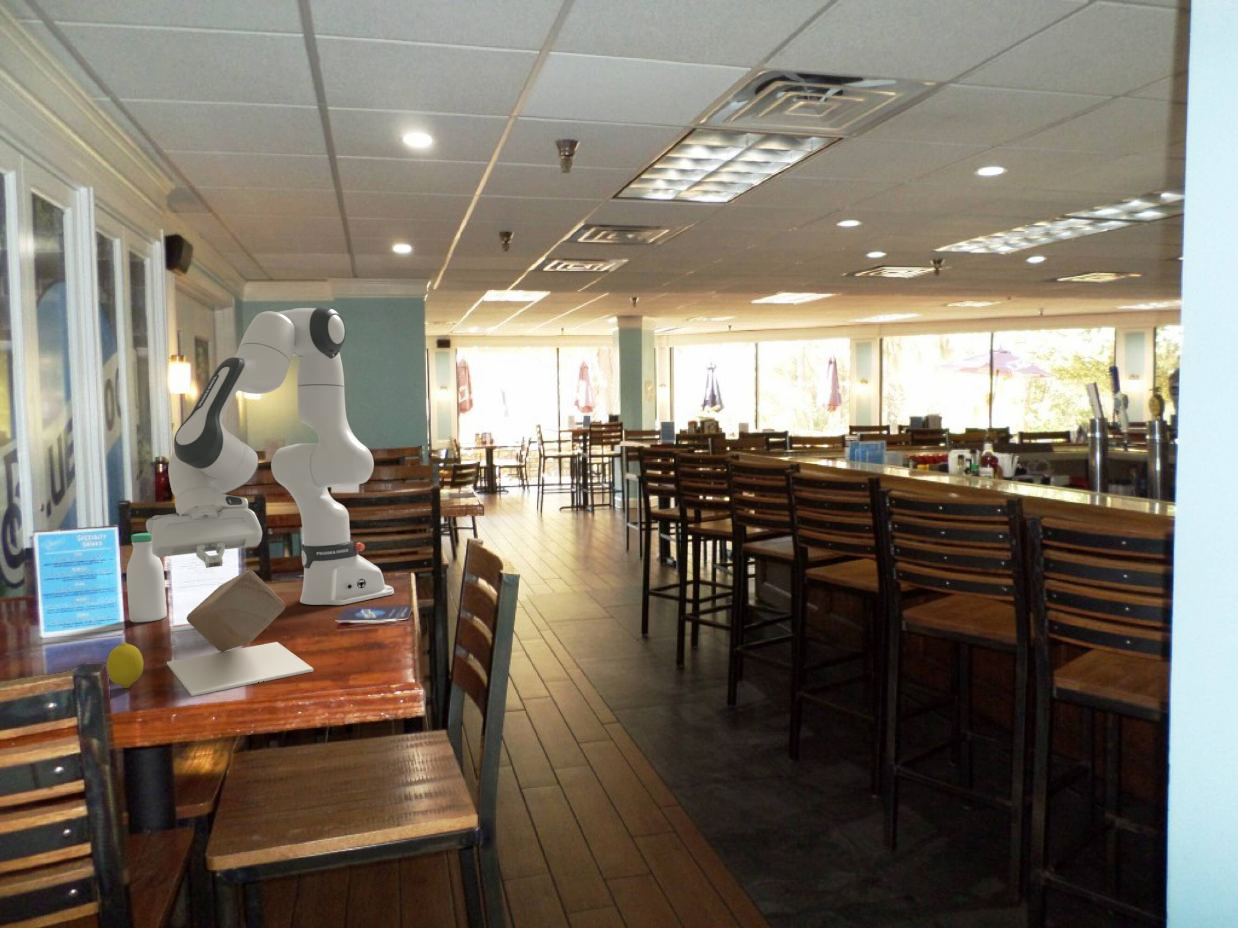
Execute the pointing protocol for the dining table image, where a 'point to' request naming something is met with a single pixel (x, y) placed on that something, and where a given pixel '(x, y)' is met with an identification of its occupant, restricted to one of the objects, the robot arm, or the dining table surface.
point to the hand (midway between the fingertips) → (214, 565)
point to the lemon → (125, 664)
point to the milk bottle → (145, 582)
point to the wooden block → (236, 612)
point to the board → (237, 668)
